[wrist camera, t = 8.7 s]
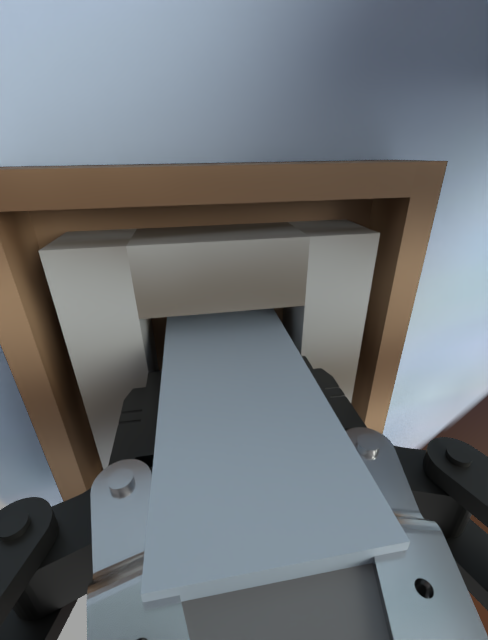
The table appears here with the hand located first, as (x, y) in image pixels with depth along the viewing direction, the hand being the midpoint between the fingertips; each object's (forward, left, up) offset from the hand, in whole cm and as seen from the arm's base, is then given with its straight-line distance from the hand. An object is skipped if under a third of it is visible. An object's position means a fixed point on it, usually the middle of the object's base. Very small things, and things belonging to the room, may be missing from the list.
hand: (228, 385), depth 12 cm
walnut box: (0, 0, -4) cm, 4 cm away
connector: (0, 0, -2) cm, 2 cm away
